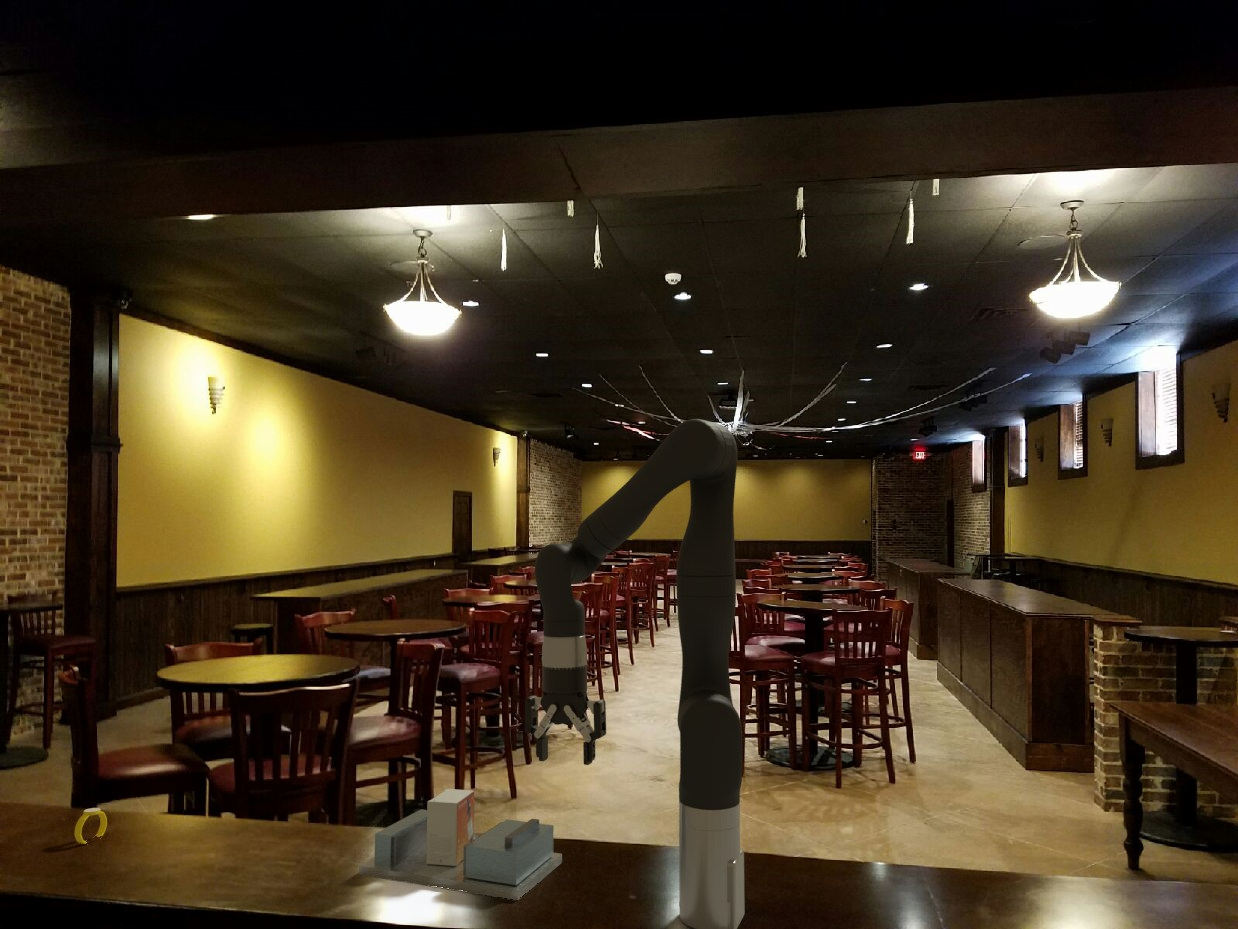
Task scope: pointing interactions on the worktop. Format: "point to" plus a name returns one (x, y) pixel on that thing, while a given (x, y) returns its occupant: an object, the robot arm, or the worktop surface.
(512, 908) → the worktop surface
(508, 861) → the sliding jaw
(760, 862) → the worktop surface
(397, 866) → the vise base
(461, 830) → the small box
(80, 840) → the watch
